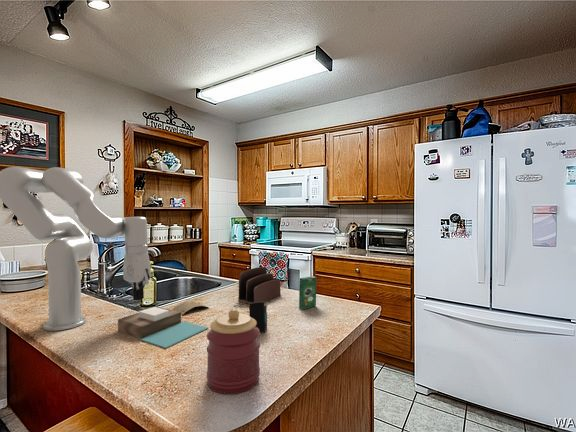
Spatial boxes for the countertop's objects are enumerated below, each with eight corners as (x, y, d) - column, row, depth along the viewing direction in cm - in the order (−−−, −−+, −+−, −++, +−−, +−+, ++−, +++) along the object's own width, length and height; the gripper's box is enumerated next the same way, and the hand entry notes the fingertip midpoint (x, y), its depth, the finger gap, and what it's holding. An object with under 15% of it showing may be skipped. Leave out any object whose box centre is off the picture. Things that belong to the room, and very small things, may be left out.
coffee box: (312, 304, 136) (312, 275, 136) (316, 306, 134) (316, 276, 134) (298, 308, 131) (298, 278, 131) (303, 310, 129) (303, 279, 129)
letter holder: (238, 301, 140) (238, 271, 140) (265, 292, 157) (265, 264, 156) (254, 305, 135) (254, 274, 134) (280, 295, 151) (281, 267, 151)
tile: (139, 317, 108) (139, 311, 108) (154, 312, 113) (154, 306, 113) (154, 321, 104) (154, 315, 104) (169, 316, 109) (169, 310, 109)
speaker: (266, 334, 103) (265, 302, 104) (249, 334, 103) (248, 303, 104) (268, 327, 111) (267, 298, 112) (252, 328, 111) (251, 299, 112)
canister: (195, 388, 72) (195, 314, 72) (225, 362, 85) (225, 299, 84) (243, 400, 68) (244, 322, 67) (268, 371, 80) (268, 304, 80)
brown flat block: (118, 330, 106) (117, 319, 106) (157, 316, 120) (157, 306, 120) (142, 338, 100) (142, 326, 99) (181, 322, 114) (181, 312, 113)
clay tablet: (181, 317, 121) (181, 310, 121) (168, 311, 127) (168, 305, 127) (211, 308, 132) (211, 302, 132) (198, 304, 138) (198, 298, 138)
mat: (140, 340, 98) (140, 339, 98) (184, 322, 114) (184, 321, 114) (165, 348, 93) (165, 347, 93) (208, 328, 108) (208, 327, 108)
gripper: (114, 250, 113) (116, 299, 114) (140, 252, 106) (142, 304, 107) (133, 247, 120) (135, 294, 120) (159, 249, 113) (160, 299, 113)
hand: (138, 299), depth 113 cm, fingers closed
